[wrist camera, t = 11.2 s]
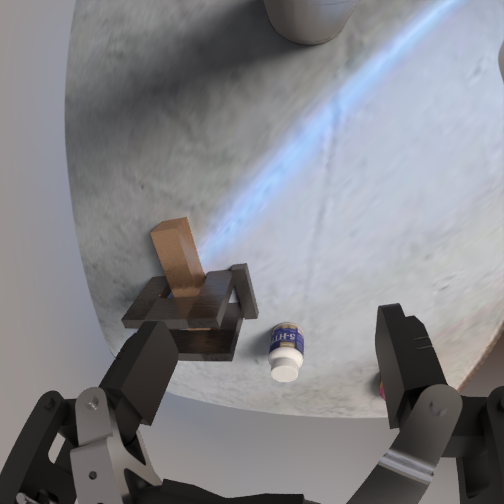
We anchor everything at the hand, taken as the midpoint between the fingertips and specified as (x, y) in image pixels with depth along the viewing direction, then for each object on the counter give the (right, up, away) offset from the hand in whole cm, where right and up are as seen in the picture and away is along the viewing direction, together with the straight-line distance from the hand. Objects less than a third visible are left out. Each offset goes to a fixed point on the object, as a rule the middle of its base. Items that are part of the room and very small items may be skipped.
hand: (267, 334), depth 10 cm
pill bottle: (+5, -10, +37) cm, 38 cm away
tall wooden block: (-10, -1, +34) cm, 35 cm away
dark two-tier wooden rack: (-9, -4, +35) cm, 36 cm away
